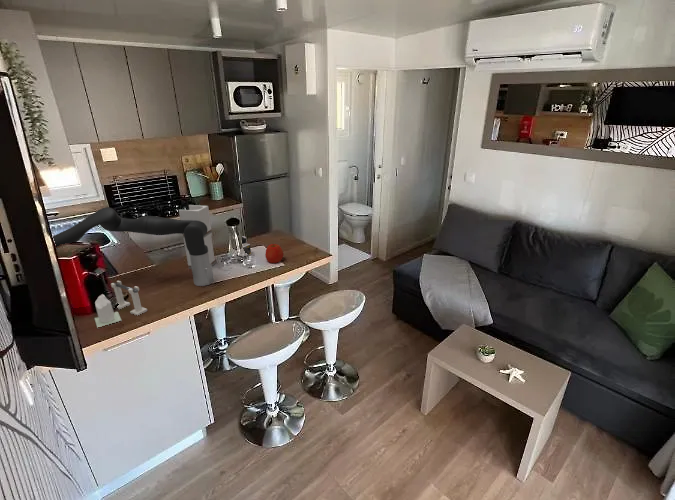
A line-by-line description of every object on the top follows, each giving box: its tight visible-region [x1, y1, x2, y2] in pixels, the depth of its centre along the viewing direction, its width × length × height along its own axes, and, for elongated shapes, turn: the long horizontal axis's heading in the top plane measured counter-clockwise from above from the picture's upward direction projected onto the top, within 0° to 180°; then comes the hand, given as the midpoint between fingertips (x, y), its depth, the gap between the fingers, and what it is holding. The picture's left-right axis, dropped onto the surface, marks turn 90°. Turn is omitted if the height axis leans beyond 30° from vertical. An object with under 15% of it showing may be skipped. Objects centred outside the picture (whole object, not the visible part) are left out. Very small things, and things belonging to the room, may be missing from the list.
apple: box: [264, 243, 284, 264], centre depth 215 cm, size 11×11×11 cm
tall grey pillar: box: [178, 204, 217, 270], centre depth 203 cm, size 11×11×35 cm
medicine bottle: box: [242, 236, 252, 255], centre depth 222 cm, size 7×7×12 cm
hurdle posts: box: [110, 280, 148, 317], centre depth 163 cm, size 17×5×12 cm, turn 64°
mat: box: [94, 311, 123, 329], centre depth 156 cm, size 9×9×1 cm
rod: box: [113, 282, 139, 293], centre depth 161 cm, size 16×1×1 cm, turn 64°
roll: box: [94, 293, 115, 323], centre depth 154 cm, size 6×12×6 cm
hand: (81, 264), depth 150 cm, fingers open, 8 cm apart
